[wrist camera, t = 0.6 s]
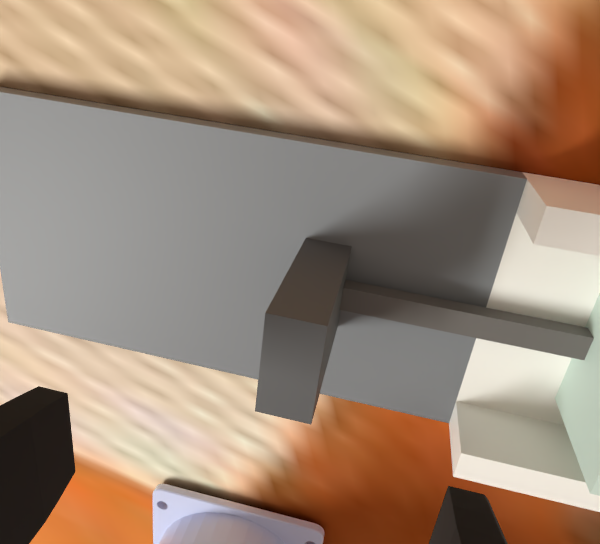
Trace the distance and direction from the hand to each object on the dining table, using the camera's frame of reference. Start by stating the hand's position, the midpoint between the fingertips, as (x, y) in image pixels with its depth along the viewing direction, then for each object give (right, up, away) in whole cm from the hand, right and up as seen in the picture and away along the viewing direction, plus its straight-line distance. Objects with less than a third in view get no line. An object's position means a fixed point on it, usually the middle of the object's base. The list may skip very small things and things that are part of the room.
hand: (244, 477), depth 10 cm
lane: (+3, +3, +8) cm, 9 cm away
